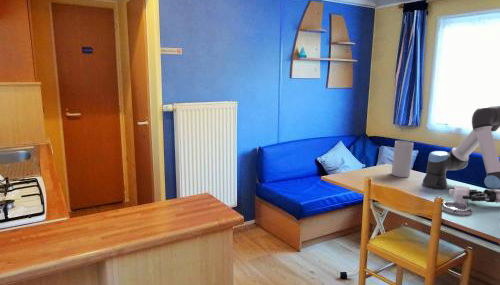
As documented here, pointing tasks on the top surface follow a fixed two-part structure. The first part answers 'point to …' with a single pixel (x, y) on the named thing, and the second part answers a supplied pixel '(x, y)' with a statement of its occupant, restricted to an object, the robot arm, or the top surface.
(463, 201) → the white cup
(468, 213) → the rosette plate
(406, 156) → the cylinder vase
